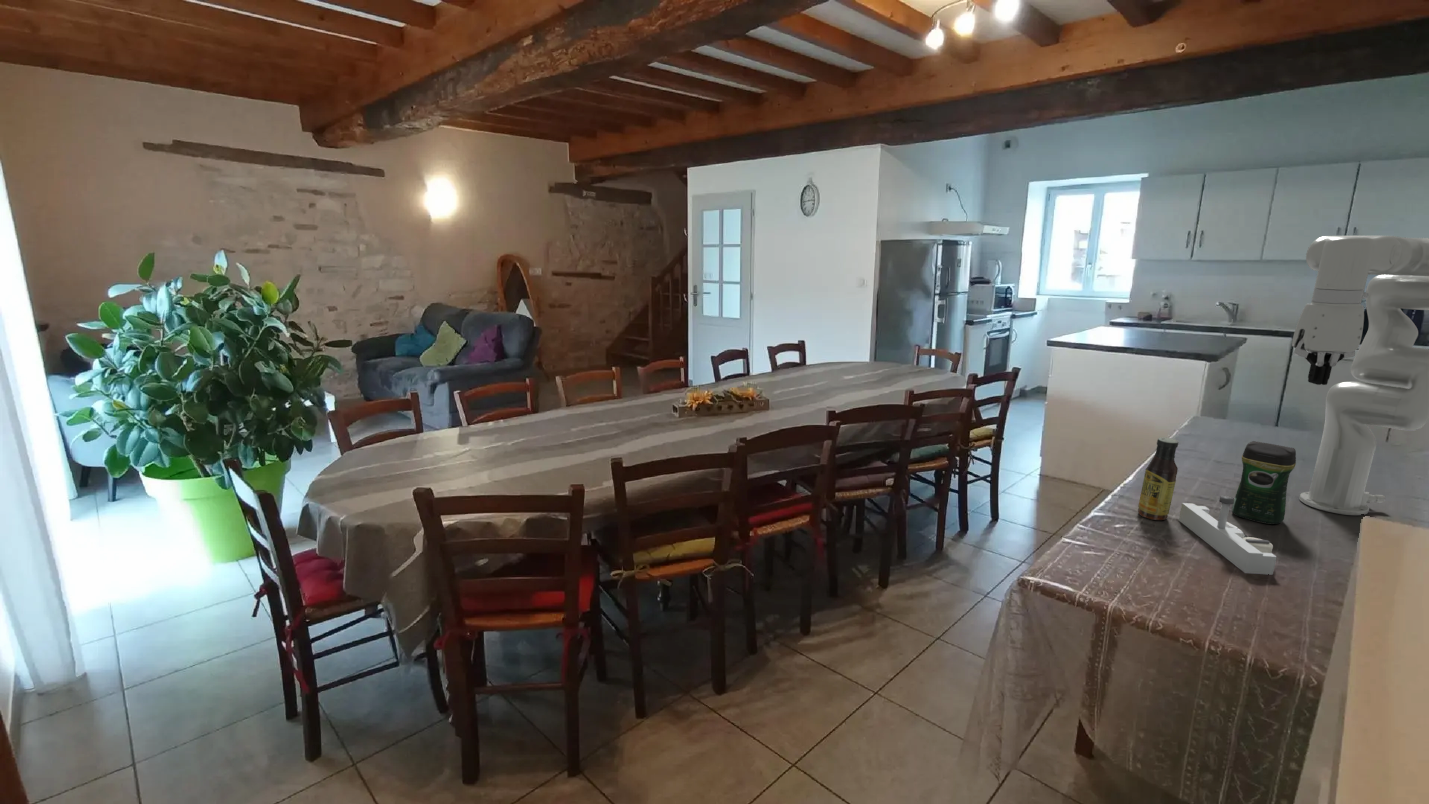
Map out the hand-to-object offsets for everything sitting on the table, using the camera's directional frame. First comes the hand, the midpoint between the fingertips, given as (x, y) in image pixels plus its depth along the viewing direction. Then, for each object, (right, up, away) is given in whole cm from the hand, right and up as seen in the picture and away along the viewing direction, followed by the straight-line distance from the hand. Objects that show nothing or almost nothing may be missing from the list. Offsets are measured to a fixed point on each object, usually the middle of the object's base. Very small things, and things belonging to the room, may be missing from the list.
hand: (1317, 383), depth 137 cm
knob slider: (-17, -37, -4) cm, 41 cm away
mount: (-18, -36, +3) cm, 40 cm away
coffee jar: (+1, -32, +16) cm, 36 cm away
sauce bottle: (-23, -32, +18) cm, 44 cm away
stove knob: (-13, -35, +8) cm, 38 cm away
